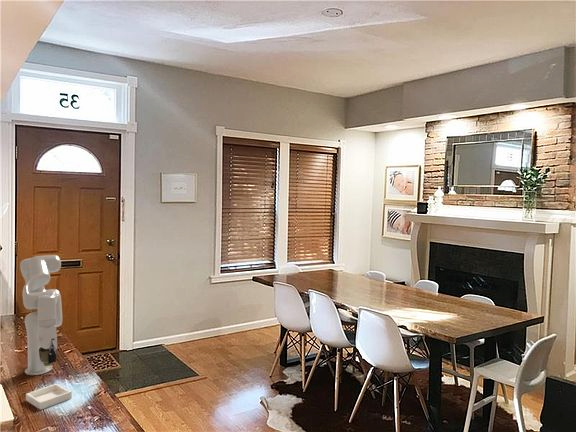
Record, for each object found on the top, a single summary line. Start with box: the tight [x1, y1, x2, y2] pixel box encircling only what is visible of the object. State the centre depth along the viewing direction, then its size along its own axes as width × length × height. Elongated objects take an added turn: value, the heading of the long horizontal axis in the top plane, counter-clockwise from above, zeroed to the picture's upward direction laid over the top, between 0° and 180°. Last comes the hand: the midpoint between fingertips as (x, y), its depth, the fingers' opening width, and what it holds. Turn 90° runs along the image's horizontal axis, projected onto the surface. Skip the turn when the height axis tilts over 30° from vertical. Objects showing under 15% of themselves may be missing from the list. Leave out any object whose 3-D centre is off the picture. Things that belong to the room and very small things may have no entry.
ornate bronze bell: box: [39, 346, 53, 366], centre depth 210 cm, size 8×7×8 cm
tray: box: [25, 383, 73, 410], centre depth 212 cm, size 14×14×3 cm
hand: (48, 360), depth 211 cm, fingers closed on ornate bronze bell, 7 cm apart
